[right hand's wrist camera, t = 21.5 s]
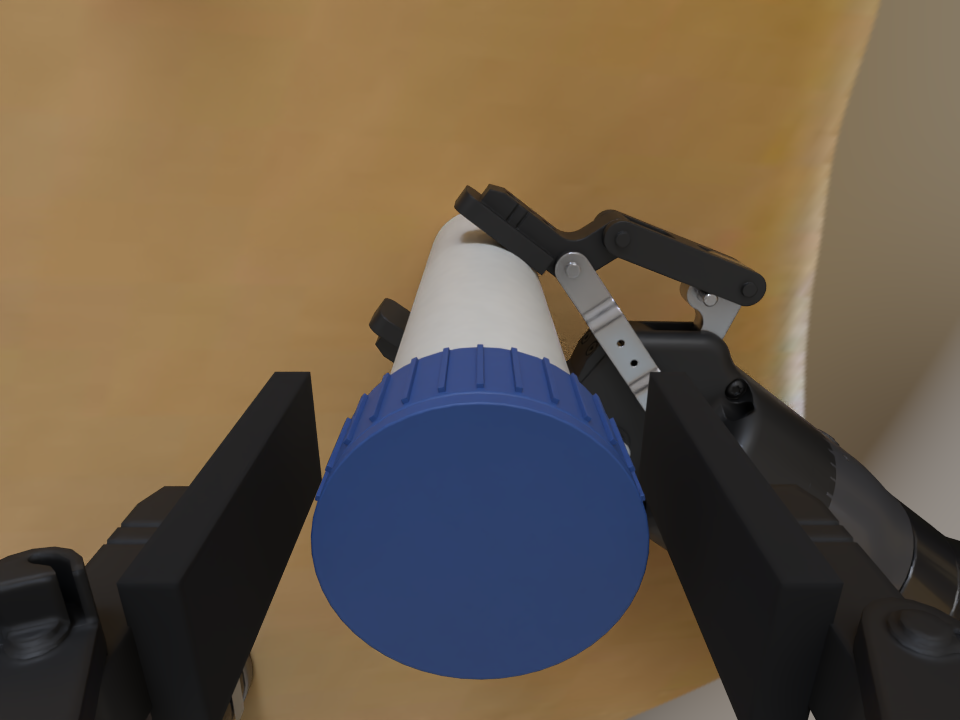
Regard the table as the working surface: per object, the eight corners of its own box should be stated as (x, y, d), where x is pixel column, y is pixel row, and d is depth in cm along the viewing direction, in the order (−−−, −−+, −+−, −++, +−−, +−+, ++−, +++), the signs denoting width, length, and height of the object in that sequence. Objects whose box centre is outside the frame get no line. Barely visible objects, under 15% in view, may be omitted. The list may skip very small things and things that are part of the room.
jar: (495, 189, 28) (521, 352, 10) (547, 273, 30) (656, 551, 11) (411, 245, 29) (296, 487, 11) (466, 324, 31) (446, 655, 12)
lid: (448, 279, 11) (441, 323, 9) (685, 451, 12) (729, 527, 10) (282, 498, 13) (241, 580, 11) (505, 631, 14) (509, 728, 12)
